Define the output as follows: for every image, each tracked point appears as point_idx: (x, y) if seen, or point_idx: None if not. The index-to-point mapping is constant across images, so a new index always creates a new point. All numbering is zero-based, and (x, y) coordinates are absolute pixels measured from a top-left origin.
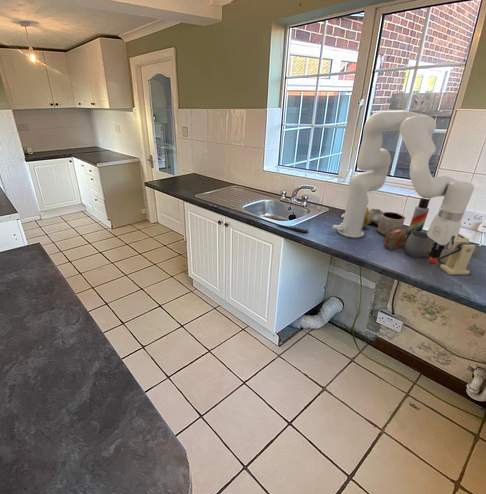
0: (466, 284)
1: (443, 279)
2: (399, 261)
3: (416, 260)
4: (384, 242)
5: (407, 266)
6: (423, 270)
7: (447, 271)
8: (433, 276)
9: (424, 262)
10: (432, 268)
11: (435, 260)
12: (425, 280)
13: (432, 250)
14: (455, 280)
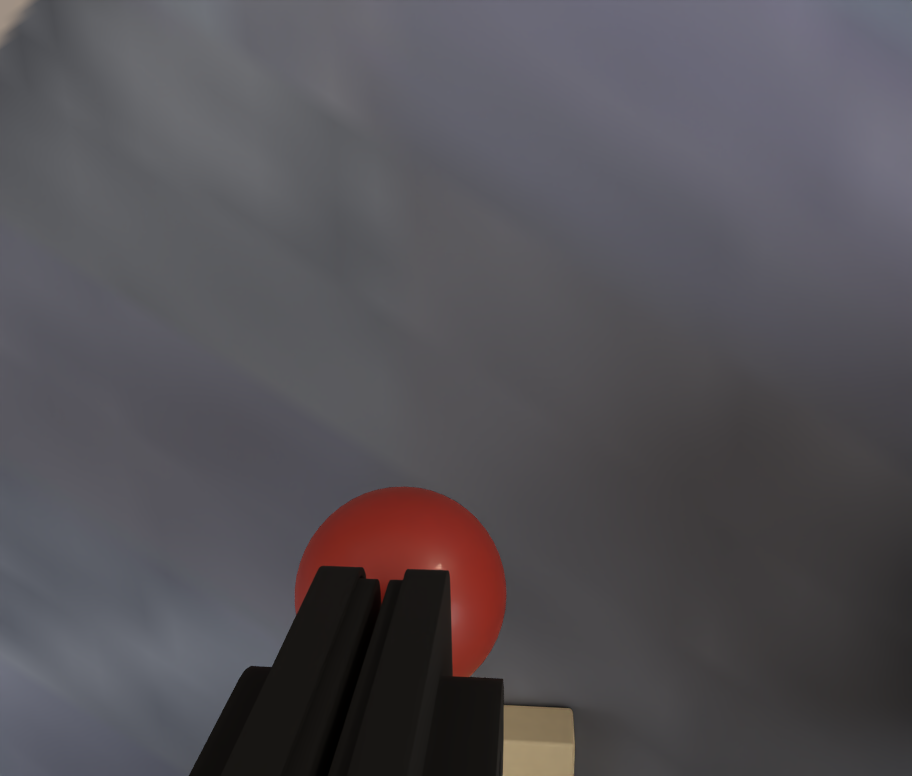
0: (56, 725)
1: (155, 505)
2: (897, 32)
3: (866, 465)
4: None
5: (636, 100)
6: (455, 354)
7: None
8: (239, 402)
9: (761, 565)
10: (526, 563)
11: (296, 602)
12: (71, 153)
13: (358, 728)
14: (149, 659)
